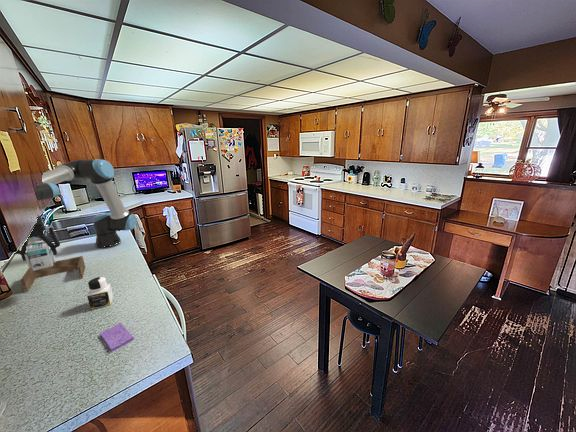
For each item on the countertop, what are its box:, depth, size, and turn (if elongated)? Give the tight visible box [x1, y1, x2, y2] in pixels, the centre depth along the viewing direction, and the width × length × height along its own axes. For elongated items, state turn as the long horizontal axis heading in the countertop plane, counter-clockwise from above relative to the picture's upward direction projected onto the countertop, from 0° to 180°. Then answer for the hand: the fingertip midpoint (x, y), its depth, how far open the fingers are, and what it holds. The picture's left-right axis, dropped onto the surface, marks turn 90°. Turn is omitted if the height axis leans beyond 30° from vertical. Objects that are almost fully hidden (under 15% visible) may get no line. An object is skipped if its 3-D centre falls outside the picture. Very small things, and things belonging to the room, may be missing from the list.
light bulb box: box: [26, 239, 53, 271], centre depth 109 cm, size 11×7×11 cm, turn 46°
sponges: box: [99, 321, 135, 353], centre depth 86 cm, size 7×13×2 cm, turn 52°
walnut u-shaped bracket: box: [20, 255, 86, 293], centre depth 126 cm, size 22×17×7 cm
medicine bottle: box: [86, 276, 114, 310], centre depth 104 cm, size 7×7×12 cm
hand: (42, 263), depth 110 cm, fingers closed on light bulb box, 7 cm apart
